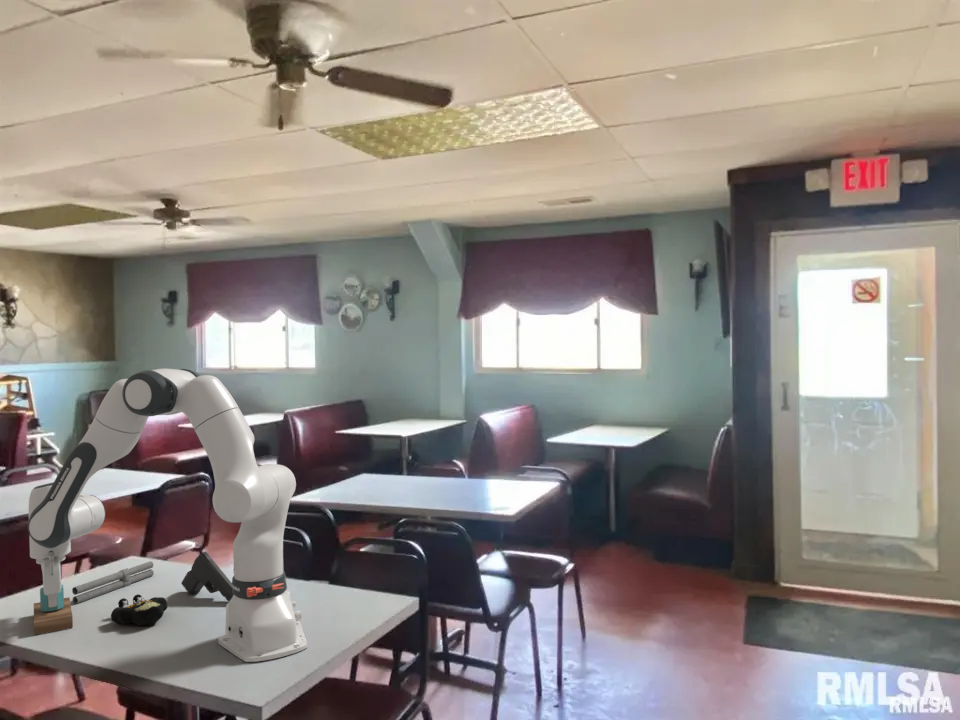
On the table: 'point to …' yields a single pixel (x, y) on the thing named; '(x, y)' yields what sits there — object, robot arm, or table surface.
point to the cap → (45, 600)
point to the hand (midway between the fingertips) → (52, 602)
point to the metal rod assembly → (121, 576)
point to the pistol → (207, 577)
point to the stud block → (52, 618)
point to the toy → (139, 611)
